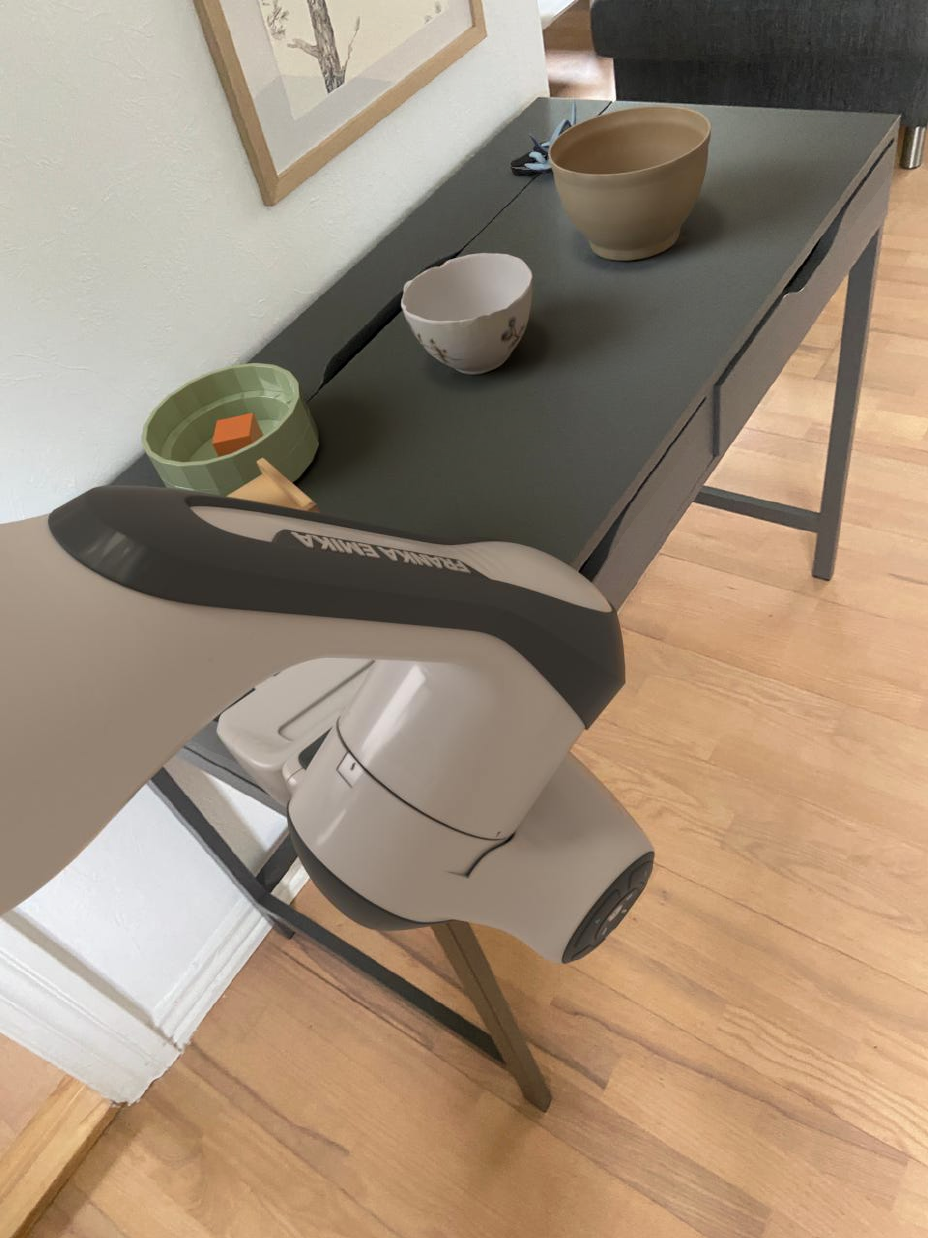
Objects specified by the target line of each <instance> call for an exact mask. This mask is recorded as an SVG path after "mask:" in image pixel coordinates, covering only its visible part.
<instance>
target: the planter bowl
mask: <svg viewBox="0 0 928 1238" xmlns="http://www.w3.org/2000/svg"><path fill="white" fill-rule="evenodd" d="M711 136H712V124H711V121H710V120H709V118H708V117H707V116H706V115H705V114H703V113H701V112H699V111H697V110H694V109H691V108H687V107H683V106H677V105H664V104H662V105H661V104H660V105H659V104H657V105H655V104H653V105H641V106H632V107H626V108H622V109H616V110H613V111H609V112H605V113H603V114H598V115H595V116H593V117H590V118H587V119H585V120H582V121H580V122H578V123H576V124H575V125H574V126H572V127H570V128H569V129H567V130H566V131H564V132H563V133H562V134H561V135H559V136H558V137H557V138H556V139H555V140H554V141H553V143H552V144H551V146H550V148H549V153H548V155H549V162H550V166H551V168H552V170H553V172H552V173H553V180H554V184H555V187H556V188H555V189H556V191H557V194H558V198H559V199H560V202H561V204H562V206H563V209H564V210H565V213H566V214H567V216H568V218H569V219H570V221H571V223H572V224H573V225H574V227H576V229H577V230H578V231H579V232H580V234H582V236H584V237H585V238H586V239H587V240H588V241H589V246H590V248H591V250H592V252H593V253H594V254H595V255H597V256H599V257H601V258H603V259H606V260H610V261H621V262H622V261H623V262H629V261H636V260H637V261H638V260H642V259H647V258H651V257H653V256H656V255H658V254H661V253H663V252H665V251H666V250H668V249H669V248H670V247H672V246H673V245H674V244H675V243H676V242H677V240H678V239H679V236H680V232H681V226H682V225H683V224H684V223H685V221H686V219H687V218H688V216H689V215H690V214H691V212H692V210H693V208H694V206H695V204H696V202H697V200H698V198H699V196H700V192H701V190H702V186H703V184H704V180H705V176H706V172H707V168H708V162H709V161H708V160H709V144H710V142H711Z"/></svg>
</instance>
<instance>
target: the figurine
mask: <svg viewBox="0 0 928 1238" xmlns="http://www.w3.org/2000/svg"><path fill="white" fill-rule="evenodd" d="M571 104H572V105H571V106H572V107H571V113H570V120H569V119H566V118H563V119H562V120H561V122H559V123H558V125H557V126H556V128H555V130H554V131H553V134H552V135H551V138H550V140H549V141H546V142H545V141H544V142H539V141H538V139H537V138H536V137H535V136H534V135H533V134H532V133H530V132H529V133H528V135H529V137H530V139H531V140H532V142H533V145H534V146H533V147H532V149H533V150H534V152H533V151H531V150H530V151H531V152H529V151H528V152H526V153H525V154H523V155H522V156H520V157H518V158H515V159H514V160H512V161H510V165H511V166H512V167H525V168H526V167H527V168H528V169H530V170H522V169H515V168H512V167H511V166H510V170H511V172H512V174H513V175H516V176H521V175H529V176H530V175H534V174H536V173H542V174H552V173H553V172H552V171H553V170H552V168H551V166H550V162H549V155H548V153H549V148H550V146H551V144H552V143H553V141H554V140H555V139H556V138H557V137H558V136H559V135H561V134H562V133H563V132H564V131H566V130H567V129H569V128H570V127H572V126H574V125H576V124H577V103H576V100H575V99H573V100H572V103H571ZM535 151H536V152H535ZM543 155H546V156H545V157H543ZM535 162H538V163H535ZM551 172H552V173H551Z"/></svg>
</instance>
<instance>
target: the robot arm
mask: <svg viewBox="0 0 928 1238" xmlns="http://www.w3.org/2000/svg"><path fill="white" fill-rule="evenodd" d="M320 513H321V512H320ZM320 513H315V512H310V511H305V510H300V509H294V508H289V507H284V506H279V505H274V504H268V503H262V502H257V501H251V500H245V499H239V498H233V497H227V496H221V495H215V494H209V493H202V492H195V491H188V490H181V489H172V488H167V487H160V486H151V485H150V486H149V485H129V484H128V485H127V484H126V485H125V484H123V485H121V484H116V485H115V484H114V485H113V484H108V485H100V486H95V487H91V488H90V489H88V490H86V491H85V492H83V493H81V494H79V495H78V496H76V497H74V498H72V499H70V500H69V501H66V502H64V504H62V505H60V506H58V507H57V508H55V509H53V510H52V511H51V512H48V513H45V514H40V515H36V516H33V517H27V518H24V519H19V520H16V521H15V520H14V521H9V522H5V523H0V917H2V916H3V915H5V914H7V913H9V912H10V911H12V910H14V909H15V908H16V907H18V906H19V905H21V904H22V903H24V902H25V901H26V900H28V899H29V898H30V897H32V896H33V895H34V894H36V893H37V892H38V891H39V890H40V889H42V888H43V887H44V886H46V885H47V884H49V883H50V882H51V881H52V880H53V879H55V878H56V877H57V876H58V875H59V874H60V873H61V872H62V871H64V870H65V869H66V868H67V867H68V866H69V865H70V864H71V863H72V862H73V861H74V860H76V859H77V858H78V857H79V856H80V855H81V853H82V852H84V851H85V849H87V847H88V846H90V844H91V843H92V842H93V841H94V840H95V839H96V838H97V837H98V836H99V835H100V834H101V832H102V831H103V830H104V829H105V828H106V827H107V826H108V825H109V824H110V823H111V822H112V821H113V820H114V819H115V817H117V815H118V814H119V813H120V812H121V811H122V810H123V809H125V806H127V805H128V804H129V802H130V801H131V800H132V799H133V798H134V797H135V796H137V793H139V792H140V791H141V790H142V789H143V788H144V787H145V785H147V783H148V782H150V781H151V779H152V778H154V776H156V774H157V773H158V772H159V771H160V770H161V769H162V768H163V767H164V766H165V765H166V764H167V763H168V762H169V761H171V759H172V758H173V757H174V756H175V755H176V754H178V752H180V751H181V750H182V749H183V748H184V747H185V746H186V745H187V744H188V743H189V742H190V741H191V740H193V739H194V737H196V736H197V735H198V734H199V733H201V731H202V730H203V729H205V728H206V727H207V726H208V725H209V724H210V723H211V722H212V721H214V719H216V718H217V717H219V718H218V722H217V727H216V735H217V737H218V738H219V739H220V741H221V742H222V744H223V745H224V746H225V748H226V749H227V750H228V752H229V753H230V754H231V756H232V757H233V758H234V760H235V761H236V762H237V763H238V764H239V766H240V767H241V768H242V769H243V770H244V772H245V773H246V774H247V775H248V776H249V777H250V778H251V780H252V781H254V782H255V783H256V784H257V786H258V787H260V789H262V790H263V791H264V792H265V793H266V794H267V795H269V797H271V798H272V799H273V800H274V801H276V802H277V803H278V804H280V805H281V806H283V807H285V808H286V821H287V822H286V823H287V828H288V833H289V837H290V840H291V843H292V846H293V849H294V851H295V853H296V856H297V857H298V860H299V861H300V864H301V865H302V866H303V869H304V870H305V872H306V874H307V875H308V877H309V879H310V880H311V882H312V883H313V884H314V886H315V887H316V888H317V890H318V891H319V892H320V893H321V894H322V895H323V897H324V898H325V899H326V900H327V901H328V902H329V903H330V904H331V905H332V906H333V907H334V908H335V909H336V910H338V912H340V913H341V914H342V915H344V916H345V917H346V918H348V919H349V920H351V921H352V922H353V923H355V924H357V925H359V926H361V927H363V928H366V929H368V930H373V931H381V932H382V931H383V932H399V931H408V930H418V929H423V928H429V927H434V926H439V925H445V924H448V923H452V922H456V921H462V922H466V923H471V924H476V925H480V926H484V927H488V928H491V929H495V930H498V931H501V932H503V933H506V934H507V935H510V936H512V937H513V938H514V939H517V940H518V941H520V942H521V943H523V944H524V945H525V946H527V947H528V948H530V950H532V951H534V952H535V953H536V954H538V955H539V956H541V957H542V958H543V959H545V960H547V961H549V962H551V963H553V964H555V965H566V964H570V963H573V962H575V961H579V960H582V959H583V958H584V957H586V956H588V955H589V954H590V953H592V952H593V951H595V950H596V949H597V948H598V947H599V946H601V944H603V943H604V942H605V941H606V939H607V937H608V936H609V935H610V934H611V933H612V932H613V931H614V930H616V929H617V927H619V926H620V924H621V922H622V921H623V920H624V919H625V917H626V916H627V915H628V913H629V912H630V910H631V909H632V908H633V906H634V905H635V904H636V902H637V901H638V899H639V897H640V896H641V894H642V893H643V891H644V890H645V888H647V887H646V886H647V884H648V882H649V880H650V877H651V875H652V873H653V870H654V862H655V856H656V851H655V847H654V845H653V843H652V842H651V840H650V838H649V837H648V835H647V833H646V832H645V831H644V830H643V828H642V827H641V826H640V824H639V823H638V822H637V821H636V819H635V818H634V817H633V815H631V813H630V812H629V811H628V810H627V808H626V807H625V806H624V805H623V804H622V803H621V801H620V800H619V799H618V798H617V797H616V796H615V795H614V793H613V792H611V790H610V789H609V788H608V787H607V786H606V784H604V782H602V781H601V779H599V778H598V776H596V775H595V774H594V773H593V771H592V770H590V768H588V767H587V766H586V765H585V763H584V762H582V760H580V759H579V758H578V757H577V756H576V755H575V754H574V753H573V752H571V750H572V748H574V746H575V744H576V742H577V741H578V740H579V738H580V737H581V735H582V734H583V733H584V731H588V730H589V729H590V728H591V727H592V726H593V724H594V723H595V722H596V721H597V719H599V717H600V716H601V714H603V712H604V711H605V709H606V708H607V707H608V706H609V704H610V703H611V702H612V701H613V699H614V698H615V697H616V696H617V694H618V693H619V692H620V691H621V689H622V688H623V687H624V686H625V685H626V657H625V647H624V640H623V634H622V628H621V623H620V619H619V615H618V612H617V611H618V610H617V609H616V607H615V606H614V604H612V603H611V602H610V601H609V599H607V598H606V597H605V596H604V595H603V593H601V591H600V590H599V589H598V588H597V587H596V585H595V584H594V583H592V582H591V581H590V580H589V579H588V578H586V577H585V576H584V575H583V574H581V573H580V572H578V570H576V569H575V568H573V567H572V566H570V565H568V564H567V563H565V562H563V561H562V560H560V559H559V558H557V557H555V556H553V555H551V554H549V553H547V552H544V551H543V550H539V549H537V548H534V547H532V546H527V545H525V544H522V543H521V544H520V543H516V542H509V541H504V540H501V539H498V538H493V537H485V536H467V537H466V536H464V537H461V536H460V537H451V536H450V537H449V536H439V535H432V534H428V533H422V532H416V531H411V530H405V529H400V528H396V527H391V526H386V525H381V524H377V523H375V524H374V523H372V522H366V521H361V520H356V519H350V518H345V517H341V516H335V515H330V514H325V513H321V514H320ZM253 689H254V690H253ZM252 690H253V691H252ZM250 691H252V692H250ZM249 692H250V693H249ZM247 693H249V694H247ZM246 694H247V695H246ZM245 695H246V696H245ZM244 696H245V697H244ZM242 697H243V698H242ZM241 698H242V699H241ZM239 699H240V700H239ZM238 700H239V701H238ZM236 701H237V702H236ZM235 702H236V703H235ZM234 703H235V704H234ZM219 715H220V716H219Z"/></svg>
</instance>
